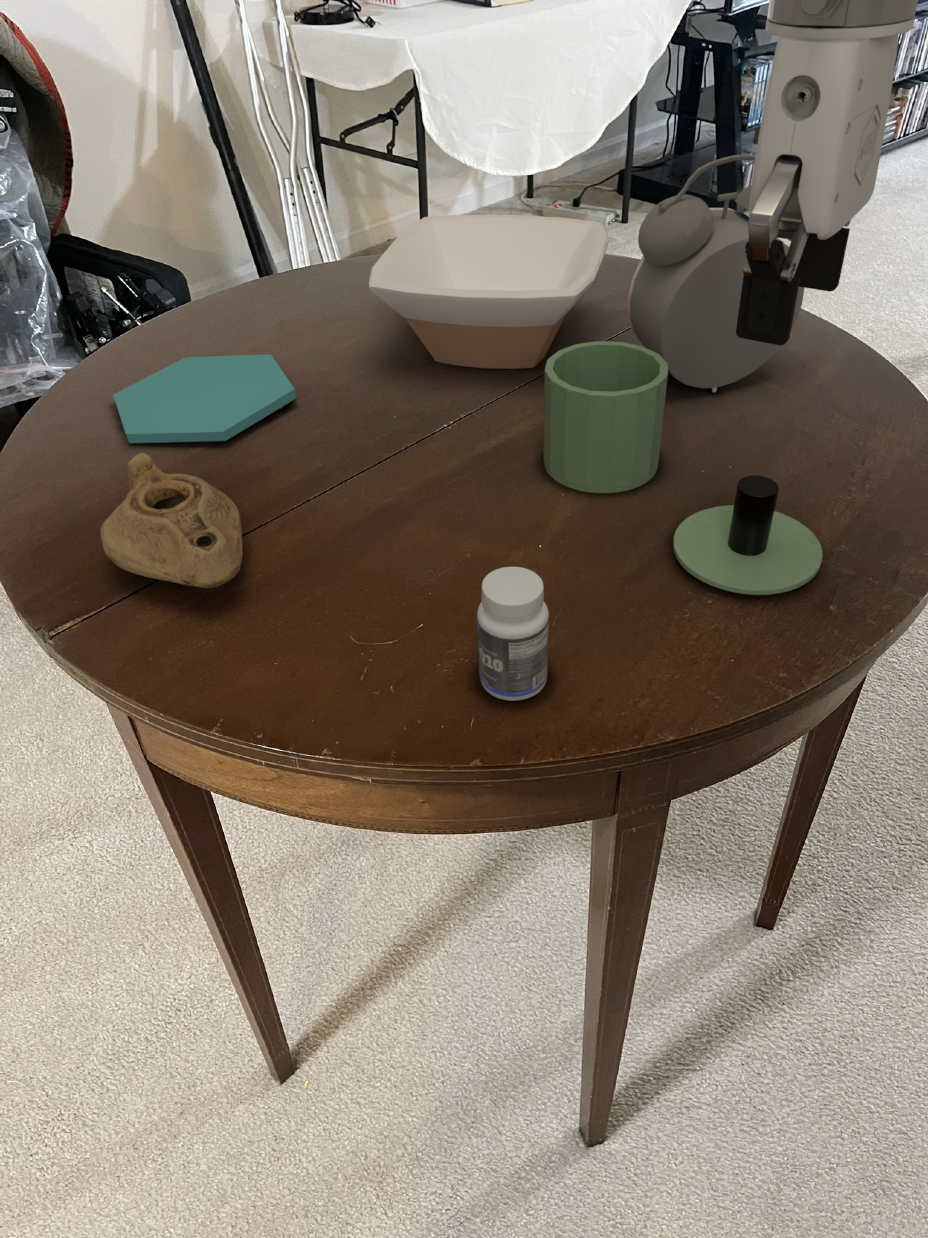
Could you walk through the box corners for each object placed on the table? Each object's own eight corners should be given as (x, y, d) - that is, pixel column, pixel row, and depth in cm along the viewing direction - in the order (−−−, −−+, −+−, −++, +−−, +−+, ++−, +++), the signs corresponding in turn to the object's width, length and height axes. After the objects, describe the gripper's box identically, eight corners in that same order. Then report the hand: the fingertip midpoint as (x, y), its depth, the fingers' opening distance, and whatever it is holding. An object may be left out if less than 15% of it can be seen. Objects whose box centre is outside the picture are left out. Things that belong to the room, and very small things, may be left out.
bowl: (362, 386, 100) (350, 288, 93) (423, 298, 118) (417, 210, 111) (582, 401, 95) (586, 299, 88) (611, 307, 113) (616, 216, 106)
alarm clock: (750, 352, 102) (786, 132, 88) (795, 385, 96) (842, 154, 81) (613, 379, 98) (628, 154, 84) (651, 415, 92) (674, 179, 78)
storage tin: (576, 425, 91) (580, 332, 85) (675, 451, 87) (687, 355, 81) (523, 474, 85) (523, 377, 79) (627, 505, 80) (636, 405, 74)
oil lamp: (193, 638, 69) (166, 552, 64) (83, 564, 77) (52, 482, 72) (303, 568, 75) (286, 484, 70) (191, 506, 83) (169, 426, 78)
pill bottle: (468, 667, 66) (463, 573, 60) (528, 648, 67) (528, 554, 61) (497, 711, 62) (494, 616, 57) (559, 690, 64) (562, 594, 58)
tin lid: (704, 502, 80) (714, 434, 76) (838, 540, 75) (856, 469, 71) (648, 572, 73) (656, 501, 69) (792, 619, 68) (810, 546, 64)
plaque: (84, 452, 93) (275, 449, 90) (77, 434, 92) (271, 431, 89) (149, 373, 106) (318, 368, 103) (144, 356, 105) (314, 351, 102)
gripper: (869, 24, 42) (802, 376, 53) (955, -24, 53) (884, 277, 64) (712, 20, 46) (679, 351, 57) (822, -24, 56) (777, 261, 67)
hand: (788, 312), depth 60 cm, fingers open, 9 cm apart
